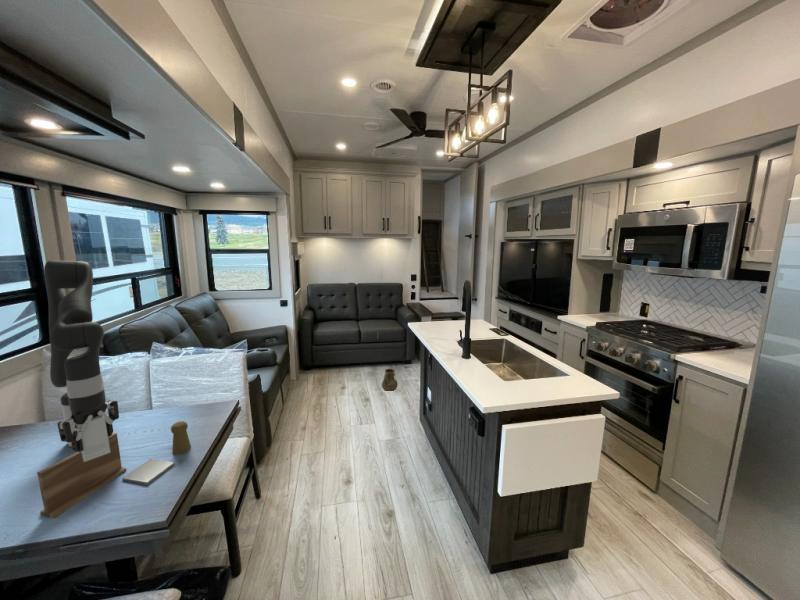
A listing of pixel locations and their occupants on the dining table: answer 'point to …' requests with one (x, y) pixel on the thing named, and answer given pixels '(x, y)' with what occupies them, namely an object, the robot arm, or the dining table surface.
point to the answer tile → (148, 471)
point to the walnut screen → (77, 478)
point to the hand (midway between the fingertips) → (94, 443)
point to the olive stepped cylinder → (180, 438)
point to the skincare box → (95, 439)
